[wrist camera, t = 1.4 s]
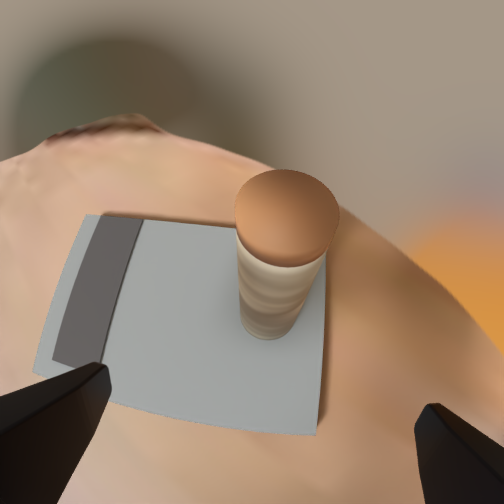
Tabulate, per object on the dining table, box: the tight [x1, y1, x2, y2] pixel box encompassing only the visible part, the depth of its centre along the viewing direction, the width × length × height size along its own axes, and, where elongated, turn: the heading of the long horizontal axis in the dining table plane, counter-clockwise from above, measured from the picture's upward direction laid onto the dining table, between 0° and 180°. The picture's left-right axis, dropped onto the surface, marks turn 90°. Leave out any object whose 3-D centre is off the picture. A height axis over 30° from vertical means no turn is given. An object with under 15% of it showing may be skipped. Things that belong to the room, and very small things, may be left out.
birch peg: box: [235, 170, 339, 340], centre depth 15 cm, size 4×4×11 cm
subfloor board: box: [33, 214, 326, 436], centre depth 21 cm, size 20×14×2 cm
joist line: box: [52, 216, 143, 369], centre depth 20 cm, size 12×4×1 cm, turn 173°
